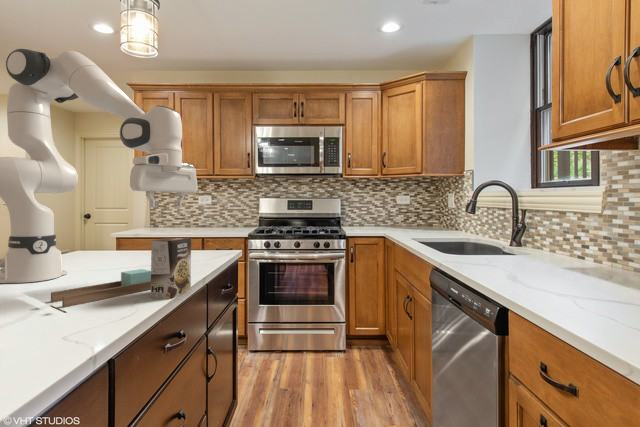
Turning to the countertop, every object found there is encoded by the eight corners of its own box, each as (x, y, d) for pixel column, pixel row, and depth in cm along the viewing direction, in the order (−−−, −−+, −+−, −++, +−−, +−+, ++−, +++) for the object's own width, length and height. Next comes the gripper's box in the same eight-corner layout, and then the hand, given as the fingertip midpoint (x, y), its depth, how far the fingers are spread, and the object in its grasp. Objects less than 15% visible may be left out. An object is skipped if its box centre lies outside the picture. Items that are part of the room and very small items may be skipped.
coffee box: (171, 303, 90) (172, 240, 90) (149, 301, 91) (150, 239, 91) (191, 294, 99) (192, 237, 98) (171, 293, 100) (171, 236, 100)
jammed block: (121, 289, 98) (121, 272, 98) (142, 285, 103) (142, 268, 103) (130, 292, 95) (130, 274, 95) (151, 288, 100) (151, 271, 100)
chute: (50, 306, 86) (50, 292, 86) (145, 287, 106) (145, 276, 106) (64, 312, 81) (64, 297, 81) (161, 292, 101) (161, 280, 101)
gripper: (189, 165, 116) (189, 207, 116) (126, 157, 99) (126, 207, 99) (202, 164, 113) (201, 207, 113) (139, 156, 96) (139, 207, 96)
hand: (166, 207), depth 106 cm, fingers open, 6 cm apart
